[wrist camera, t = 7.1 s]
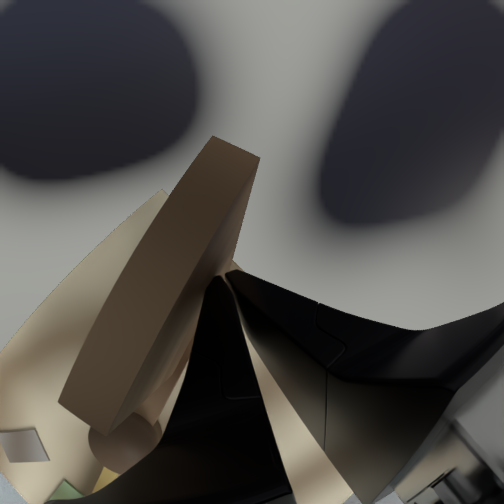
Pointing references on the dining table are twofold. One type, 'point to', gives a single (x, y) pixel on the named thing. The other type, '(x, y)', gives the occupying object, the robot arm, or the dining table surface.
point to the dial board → (76, 431)
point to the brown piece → (158, 309)
